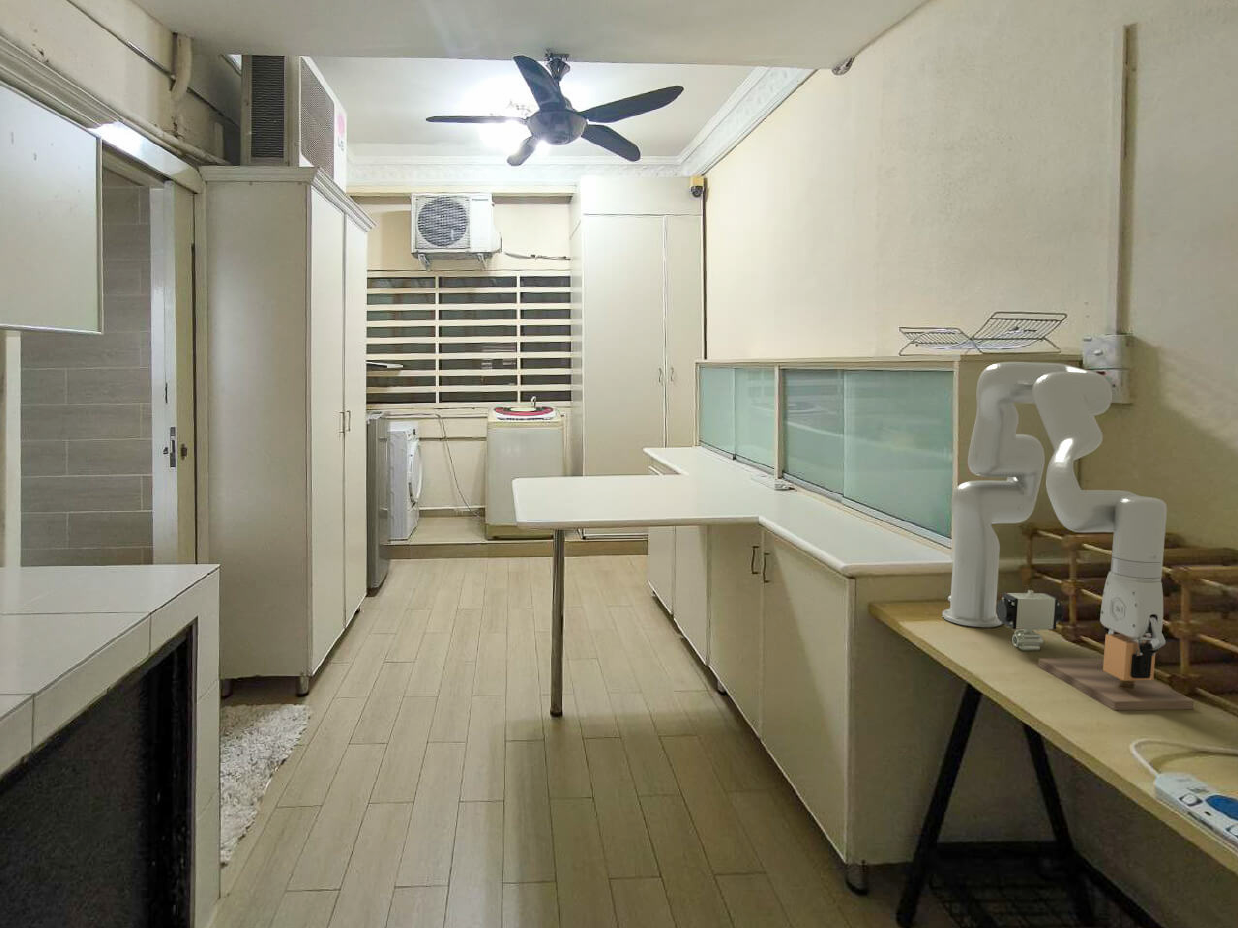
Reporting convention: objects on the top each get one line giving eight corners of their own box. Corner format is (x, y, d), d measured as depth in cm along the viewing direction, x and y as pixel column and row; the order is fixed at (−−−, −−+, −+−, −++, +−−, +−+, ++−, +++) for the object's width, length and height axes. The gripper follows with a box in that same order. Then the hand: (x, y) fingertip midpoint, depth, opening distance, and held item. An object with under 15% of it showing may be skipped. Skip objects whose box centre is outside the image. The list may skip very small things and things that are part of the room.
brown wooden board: (1038, 666, 166) (1040, 637, 166) (1107, 665, 168) (1109, 637, 167) (1114, 710, 144) (1117, 678, 144) (1193, 708, 146) (1196, 676, 145)
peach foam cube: (1102, 669, 154) (1105, 633, 153) (1131, 669, 154) (1134, 633, 154) (1123, 680, 149) (1126, 643, 148) (1153, 680, 149) (1156, 642, 148)
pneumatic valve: (1061, 652, 175) (1065, 593, 174) (1004, 652, 174) (1008, 593, 173) (1046, 643, 181) (1050, 586, 179) (991, 643, 180) (994, 586, 179)
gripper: (1084, 558, 158) (1077, 656, 160) (1150, 580, 141) (1141, 689, 143) (1123, 558, 159) (1115, 655, 160) (1194, 580, 142) (1184, 688, 143)
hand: (1128, 670), depth 151 cm, fingers closed on peach foam cube, 5 cm apart
